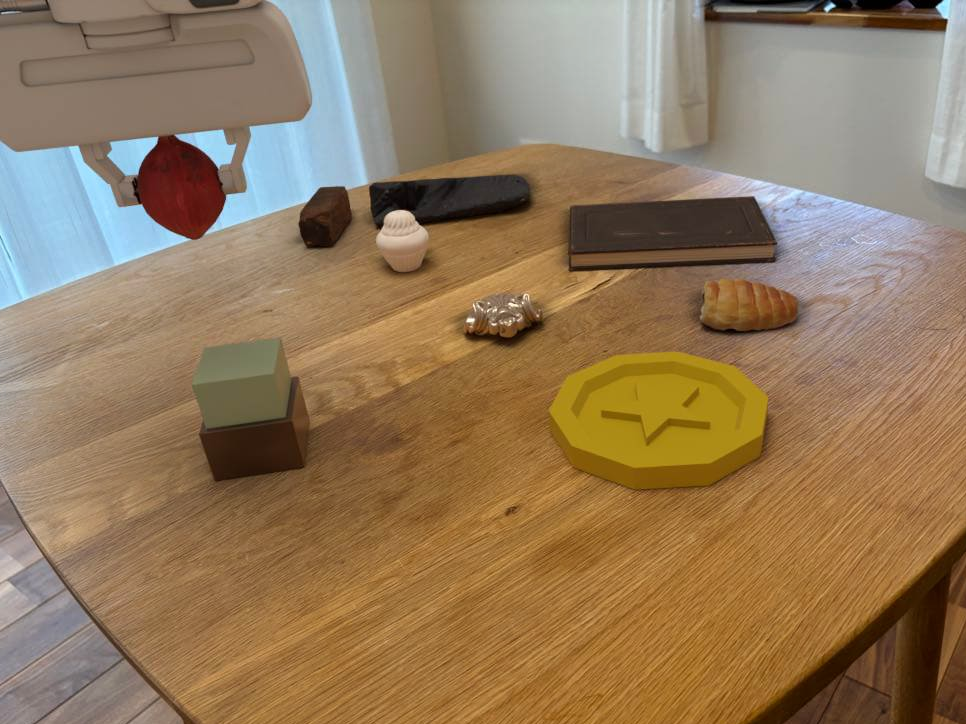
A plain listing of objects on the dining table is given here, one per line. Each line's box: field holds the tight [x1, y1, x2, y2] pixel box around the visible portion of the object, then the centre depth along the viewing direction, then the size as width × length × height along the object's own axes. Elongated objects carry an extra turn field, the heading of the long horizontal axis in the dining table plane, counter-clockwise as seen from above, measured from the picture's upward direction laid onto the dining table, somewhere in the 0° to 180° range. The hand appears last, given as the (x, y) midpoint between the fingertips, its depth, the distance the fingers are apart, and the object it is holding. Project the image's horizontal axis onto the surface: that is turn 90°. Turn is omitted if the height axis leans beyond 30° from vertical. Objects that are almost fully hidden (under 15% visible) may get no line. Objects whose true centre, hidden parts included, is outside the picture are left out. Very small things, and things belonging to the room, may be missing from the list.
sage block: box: [191, 336, 292, 429], centre depth 67 cm, size 6×6×4 cm
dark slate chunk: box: [368, 174, 531, 227], centre depth 118 cm, size 15×22×5 cm
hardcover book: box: [567, 195, 778, 272], centre depth 102 cm, size 16×23×2 cm
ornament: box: [462, 292, 544, 338], centre depth 85 cm, size 8×7×4 cm
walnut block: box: [198, 375, 311, 482], centre depth 70 cm, size 7×7×4 cm
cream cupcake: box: [375, 210, 430, 273], centre depth 100 cm, size 6×6×7 cm
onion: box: [137, 135, 227, 241], centre depth 61 cm, size 6×6×8 cm
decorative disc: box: [548, 350, 770, 491], centre depth 69 cm, size 17×18×2 cm
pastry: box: [699, 277, 799, 332], centre depth 83 cm, size 9×7×4 cm
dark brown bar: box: [297, 185, 353, 248], centre depth 112 cm, size 11×4×5 cm, turn 177°
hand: (185, 197), depth 61 cm, fingers closed on onion, 6 cm apart
